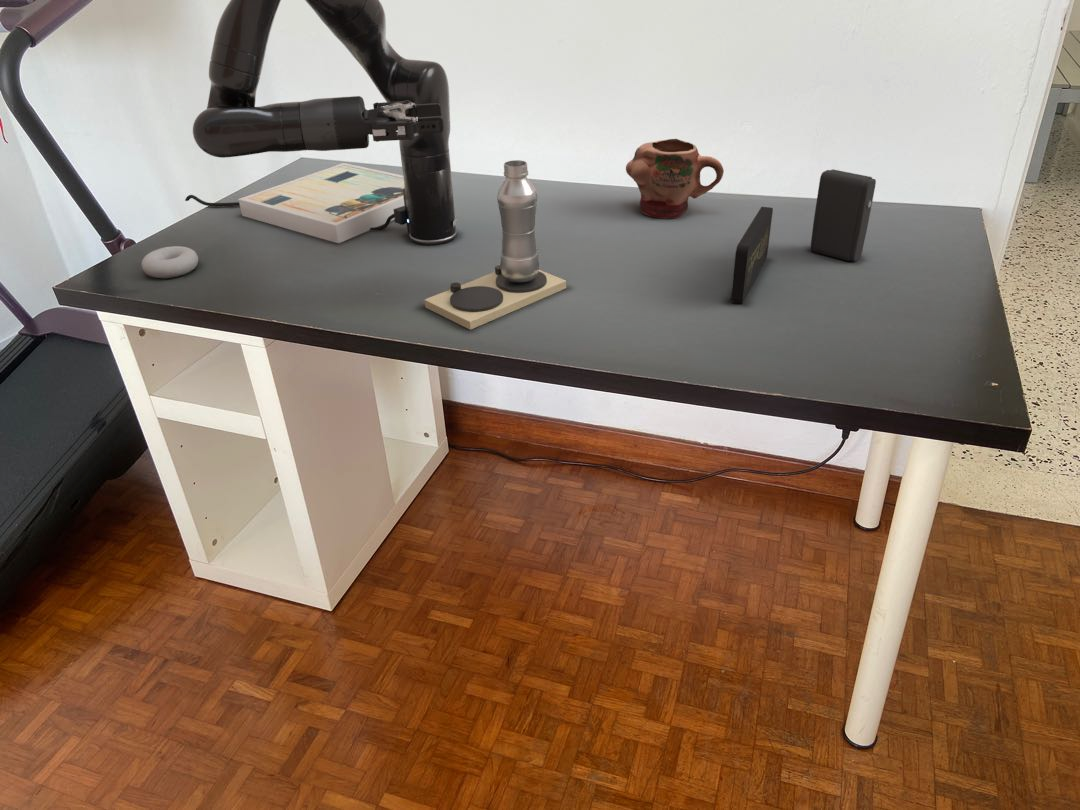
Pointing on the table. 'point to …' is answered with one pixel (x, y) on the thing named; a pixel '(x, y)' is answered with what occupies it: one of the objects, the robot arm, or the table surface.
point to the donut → (169, 262)
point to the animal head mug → (670, 176)
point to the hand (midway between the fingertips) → (441, 117)
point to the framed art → (329, 202)
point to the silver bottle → (518, 223)
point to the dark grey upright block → (842, 214)
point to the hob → (491, 297)
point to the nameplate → (751, 254)
